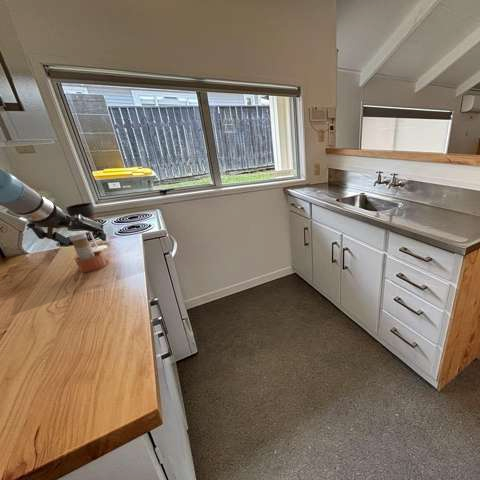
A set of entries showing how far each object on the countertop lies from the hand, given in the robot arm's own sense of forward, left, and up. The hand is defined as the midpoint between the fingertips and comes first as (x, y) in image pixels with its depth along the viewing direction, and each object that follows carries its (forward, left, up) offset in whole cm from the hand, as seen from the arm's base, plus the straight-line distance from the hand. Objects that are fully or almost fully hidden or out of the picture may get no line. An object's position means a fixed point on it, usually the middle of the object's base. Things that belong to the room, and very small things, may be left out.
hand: (86, 240), depth 97 cm
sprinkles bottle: (+2, -2, -10) cm, 10 cm away
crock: (+2, -1, -10) cm, 11 cm away
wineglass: (-21, +2, -10) cm, 23 cm away
